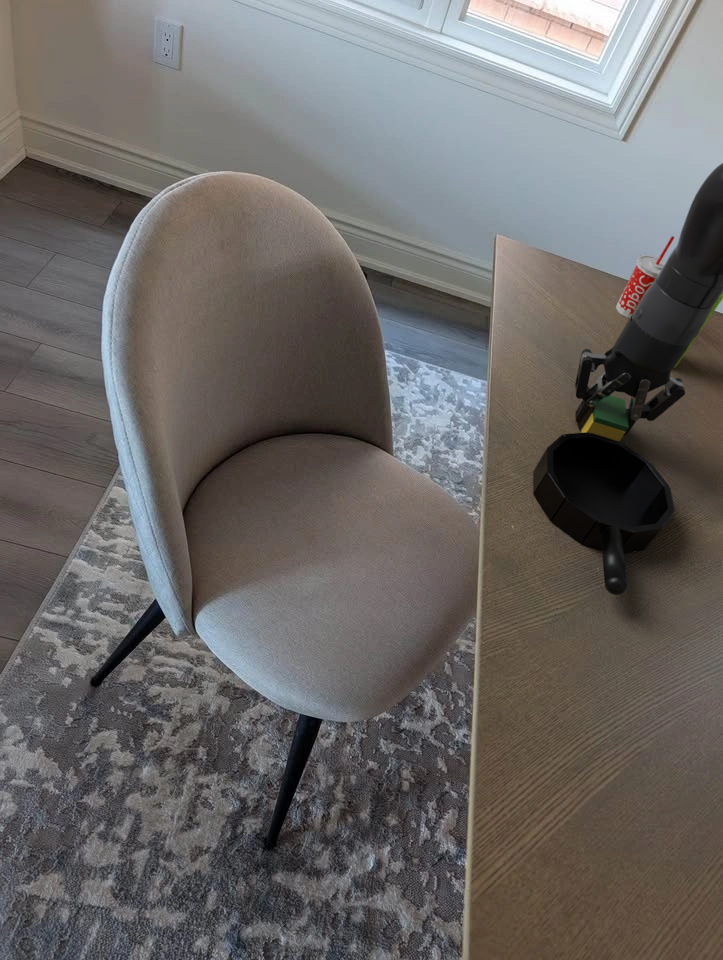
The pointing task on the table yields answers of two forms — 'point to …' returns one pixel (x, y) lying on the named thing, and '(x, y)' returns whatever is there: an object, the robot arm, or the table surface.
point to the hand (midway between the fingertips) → (597, 428)
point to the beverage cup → (640, 281)
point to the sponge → (608, 419)
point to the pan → (603, 498)
